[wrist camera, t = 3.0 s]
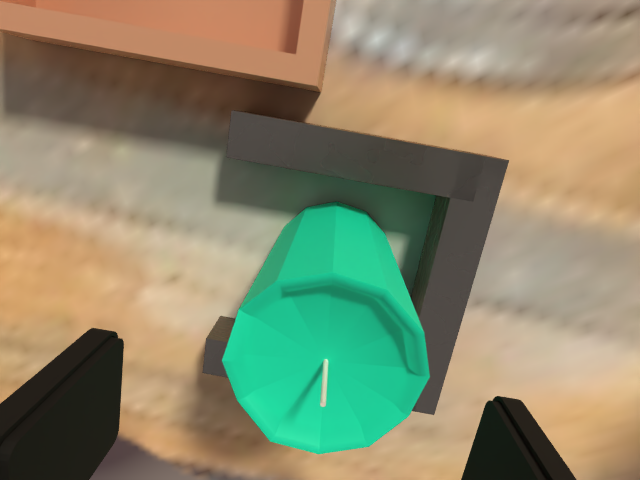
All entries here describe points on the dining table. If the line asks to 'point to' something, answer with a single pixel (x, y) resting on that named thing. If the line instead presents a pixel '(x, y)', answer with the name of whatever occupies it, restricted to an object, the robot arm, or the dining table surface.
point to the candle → (328, 336)
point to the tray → (190, 33)
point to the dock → (399, 172)
